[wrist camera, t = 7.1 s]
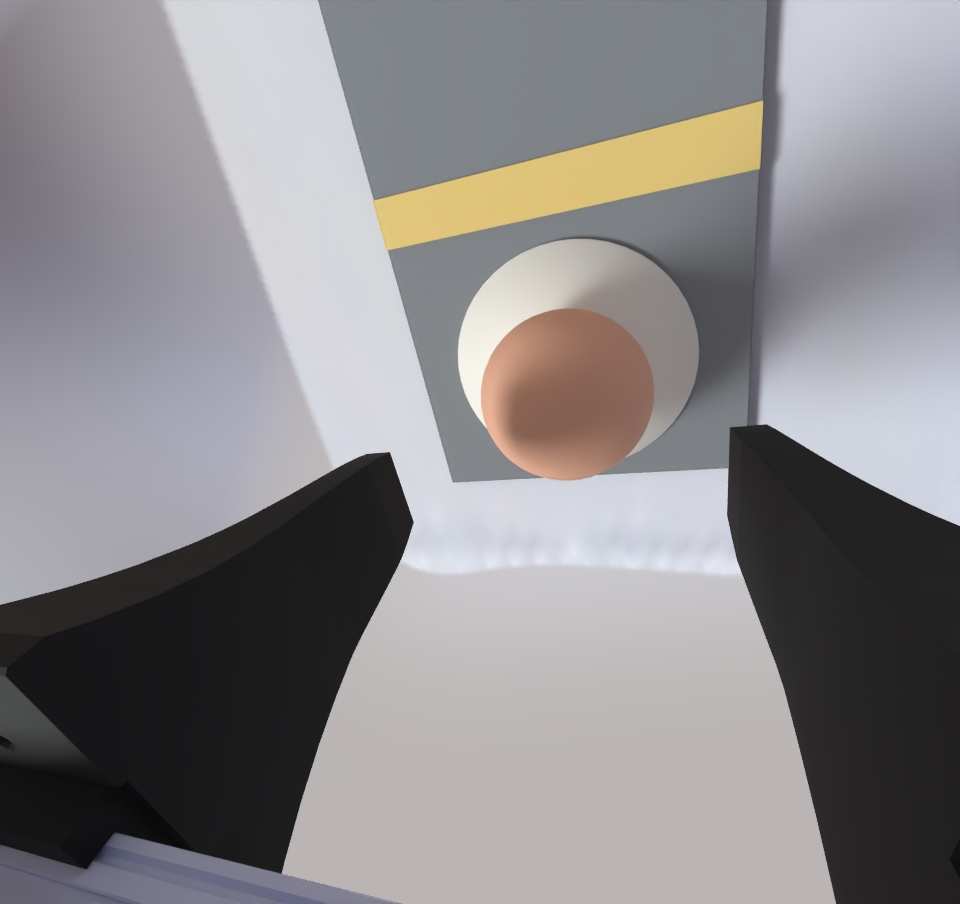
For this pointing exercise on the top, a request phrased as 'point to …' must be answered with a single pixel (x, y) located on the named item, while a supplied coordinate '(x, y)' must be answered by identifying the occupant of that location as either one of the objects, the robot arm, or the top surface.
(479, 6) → the mat
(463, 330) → the white disc
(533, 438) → the ball
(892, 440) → the top surface
